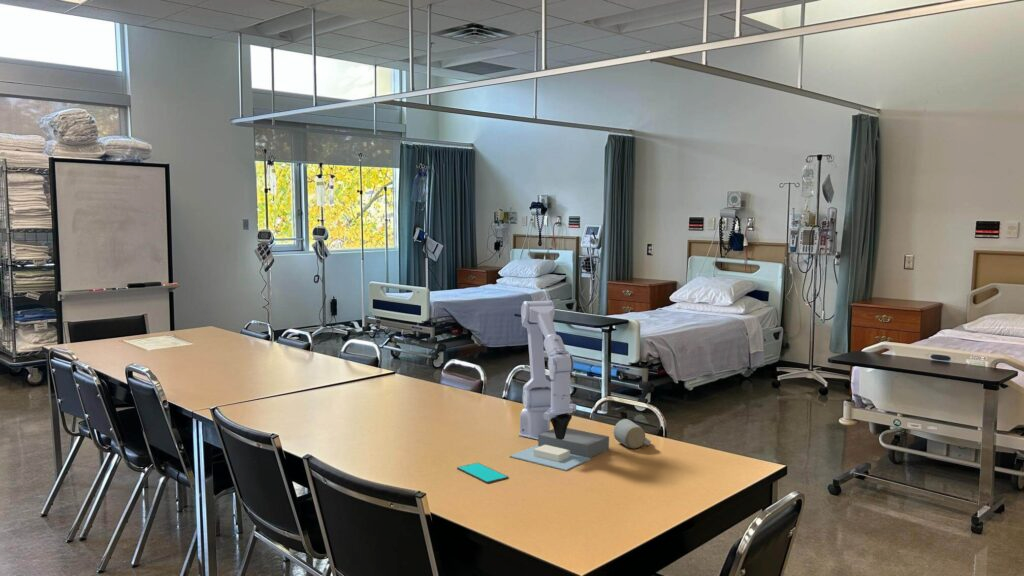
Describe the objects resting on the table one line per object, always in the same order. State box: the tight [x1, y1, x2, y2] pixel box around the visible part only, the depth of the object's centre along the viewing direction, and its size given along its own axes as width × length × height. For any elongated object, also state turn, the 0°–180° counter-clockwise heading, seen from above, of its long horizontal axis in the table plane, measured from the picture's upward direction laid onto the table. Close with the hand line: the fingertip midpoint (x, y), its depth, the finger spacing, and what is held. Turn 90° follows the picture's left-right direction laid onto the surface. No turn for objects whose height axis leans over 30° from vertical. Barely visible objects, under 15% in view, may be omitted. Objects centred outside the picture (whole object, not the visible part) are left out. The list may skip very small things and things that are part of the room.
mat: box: [509, 445, 592, 472], centre depth 219 cm, size 20×13×1 cm, turn 52°
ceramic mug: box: [613, 418, 652, 450], centre depth 232 cm, size 11×8×8 cm
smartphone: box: [456, 462, 510, 485], centre depth 205 cm, size 7×1×15 cm
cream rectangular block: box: [533, 445, 570, 462], centre depth 219 cm, size 9×6×2 cm, turn 52°
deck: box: [537, 427, 610, 459], centre depth 228 cm, size 18×12×4 cm, turn 52°
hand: (560, 438), depth 222 cm, fingers closed
